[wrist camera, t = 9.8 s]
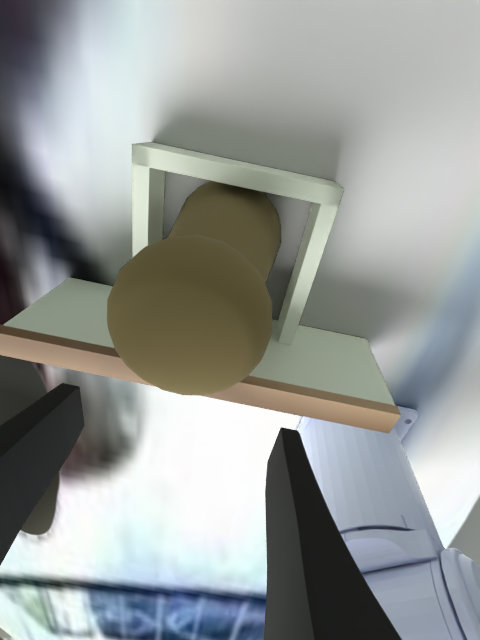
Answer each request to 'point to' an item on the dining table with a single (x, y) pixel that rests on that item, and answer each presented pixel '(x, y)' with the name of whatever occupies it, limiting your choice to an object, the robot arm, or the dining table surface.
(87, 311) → the stand
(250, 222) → the cork
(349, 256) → the dining table surface
